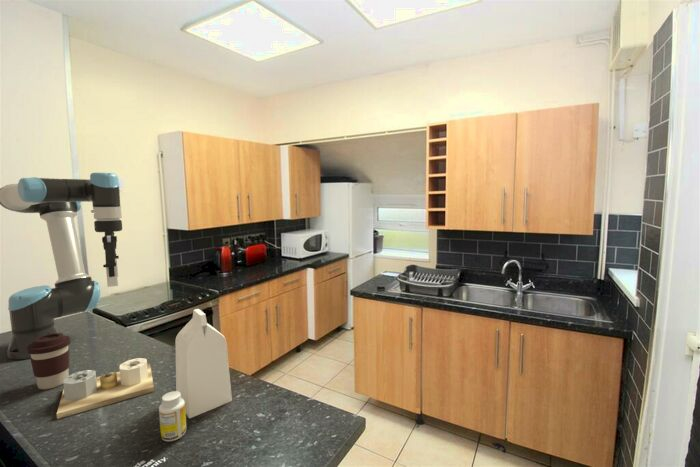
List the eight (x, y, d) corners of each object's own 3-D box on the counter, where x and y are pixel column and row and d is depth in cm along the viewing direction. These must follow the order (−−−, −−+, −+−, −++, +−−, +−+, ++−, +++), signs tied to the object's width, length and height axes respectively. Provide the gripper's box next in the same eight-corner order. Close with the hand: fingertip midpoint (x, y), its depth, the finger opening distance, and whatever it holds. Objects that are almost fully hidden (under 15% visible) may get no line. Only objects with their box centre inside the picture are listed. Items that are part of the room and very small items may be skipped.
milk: (232, 400, 95) (228, 312, 92) (189, 418, 87) (183, 323, 84) (216, 383, 104) (212, 302, 101) (176, 397, 96) (170, 311, 93)
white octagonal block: (147, 370, 108) (146, 356, 108) (148, 380, 102) (147, 365, 102) (121, 377, 104) (119, 362, 104) (121, 388, 98) (119, 372, 98)
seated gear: (67, 391, 97) (65, 374, 96) (97, 383, 101) (95, 367, 100) (63, 403, 91) (62, 386, 91) (95, 394, 95) (94, 378, 95)
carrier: (65, 389, 100) (63, 368, 100) (150, 368, 113) (149, 349, 112) (57, 419, 87) (54, 395, 86) (154, 391, 99) (152, 370, 99)
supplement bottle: (180, 423, 86) (178, 386, 84) (190, 433, 82) (188, 394, 81) (157, 435, 81) (154, 396, 80) (166, 446, 78) (163, 405, 77)
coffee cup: (49, 394, 98) (43, 345, 96) (22, 390, 100) (16, 342, 98) (82, 376, 107) (77, 332, 106) (57, 373, 109) (52, 329, 108)
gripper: (96, 217, 120) (101, 275, 122) (91, 222, 99) (97, 292, 102) (121, 217, 124) (125, 273, 126) (121, 221, 103) (126, 288, 106)
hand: (113, 281), depth 114 cm, fingers open, 13 cm apart
